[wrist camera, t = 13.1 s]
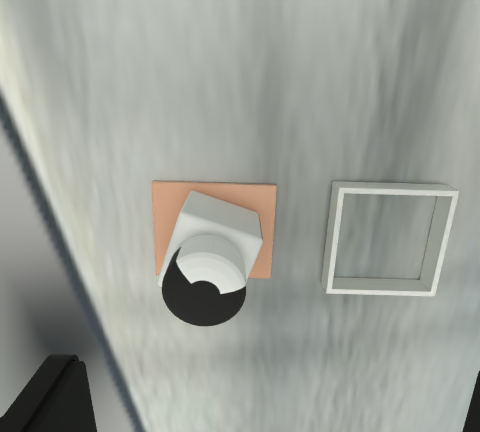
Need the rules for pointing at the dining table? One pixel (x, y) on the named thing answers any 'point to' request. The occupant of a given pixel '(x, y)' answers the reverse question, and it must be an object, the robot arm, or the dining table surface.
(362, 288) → the parts bin
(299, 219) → the dining table surface
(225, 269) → the medicine bottle
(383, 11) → the dining table surface
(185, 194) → the coaster
